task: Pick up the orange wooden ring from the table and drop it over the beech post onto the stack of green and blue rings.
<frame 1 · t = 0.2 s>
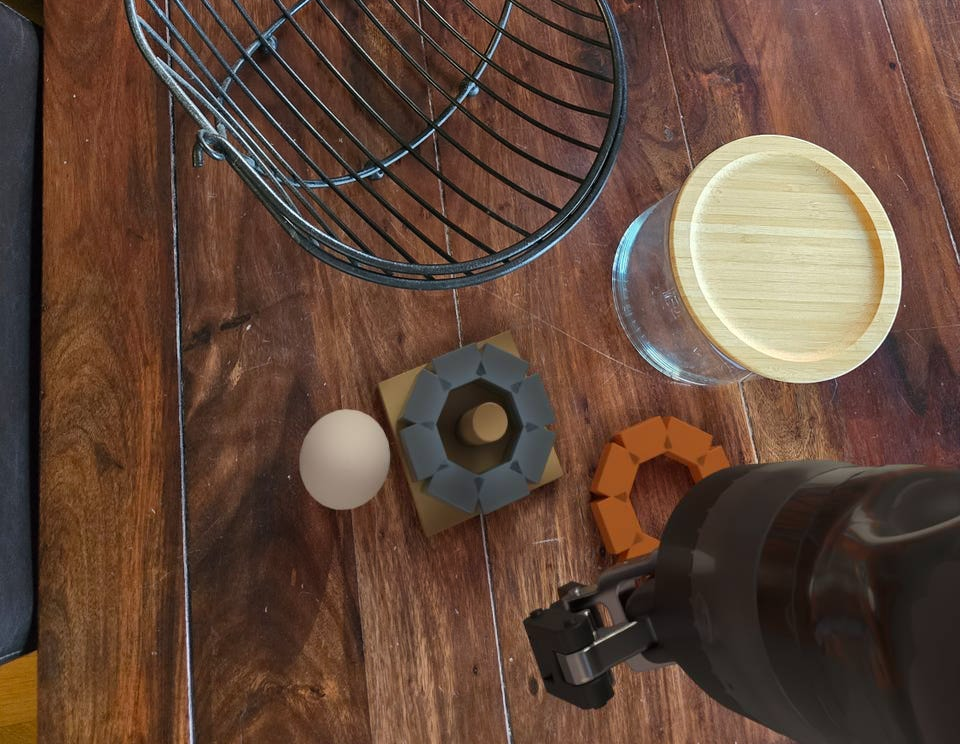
hand: (661, 567, 50), 23 cm above the table, tool pointing down, fingers open, 8 cm apart
egg: (342, 460, 70), on the table
ring stack: (467, 430, 72), on the table
orange ring: (661, 498, 72), on the table
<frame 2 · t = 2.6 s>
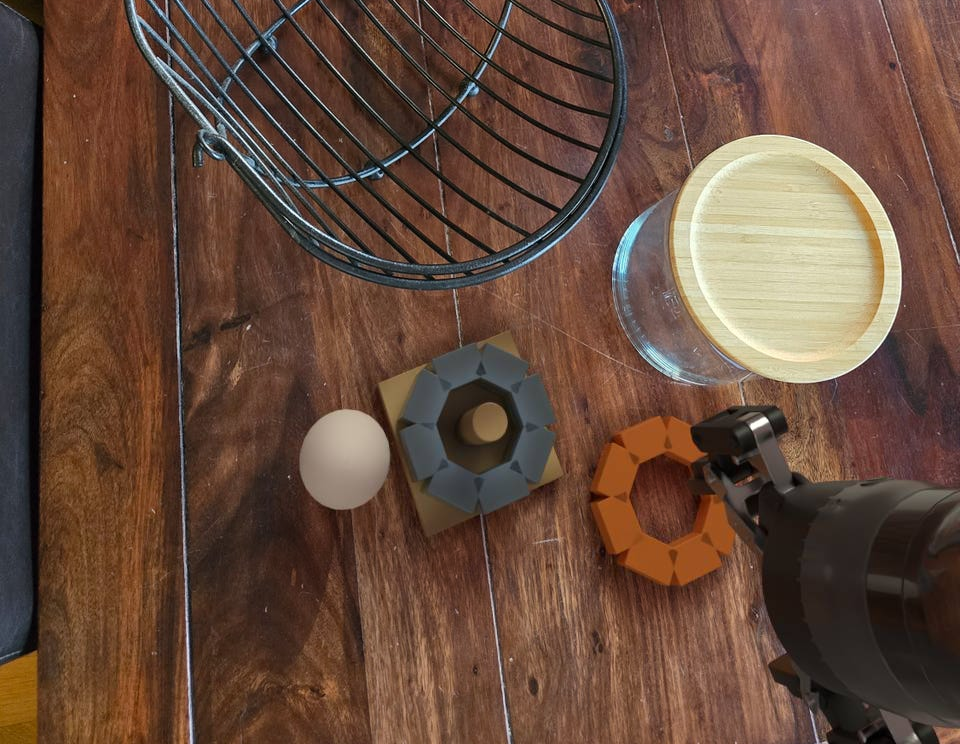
hand: (745, 568, 57), 15 cm above the table, tool pointing down, fingers open, 8 cm apart
nothing on the table moved.
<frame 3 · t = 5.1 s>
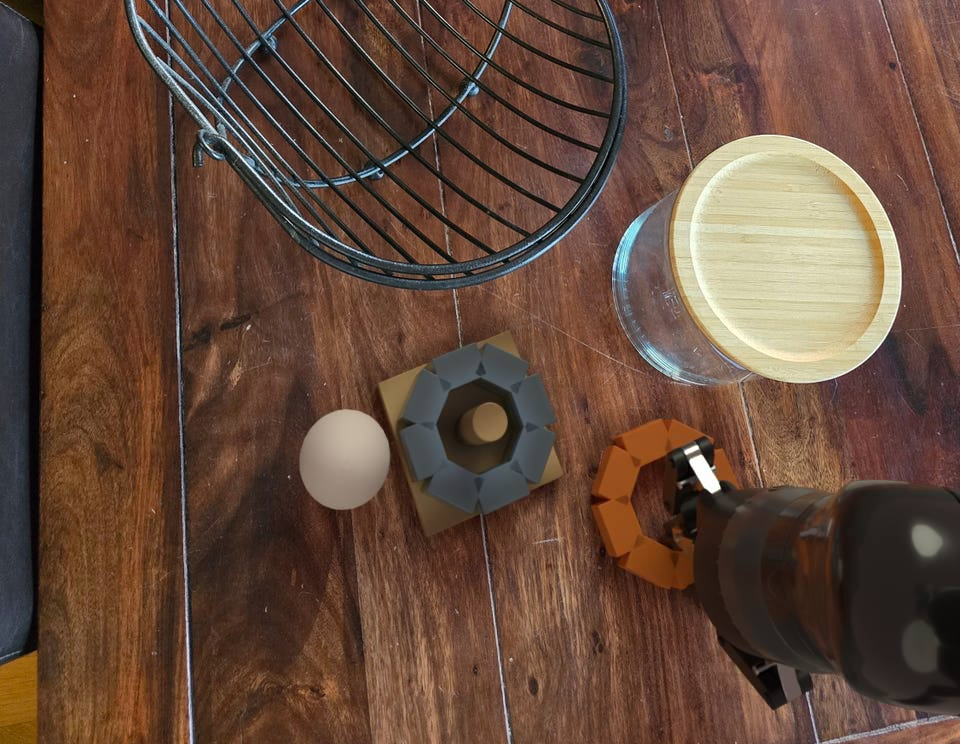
hand: (685, 559, 70), 0 cm above the table, tool pointing down, fingers closed on orange ring, 2 cm apart
orange ring: (662, 501, 71), on the table, touching gripper
everything else where it was.
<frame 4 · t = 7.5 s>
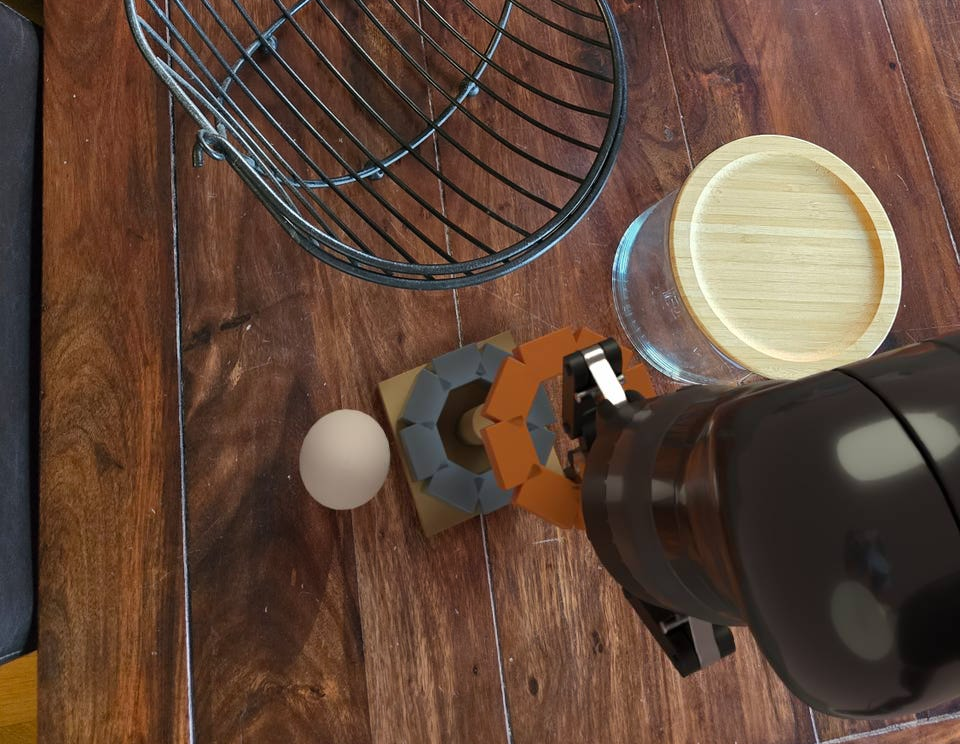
hand: (593, 496, 57), 15 cm above the table, tool pointing down, fingers closed on orange ring
orange ring: (568, 426, 58), point 15 cm above the table, touching gripper
everything else where it was.
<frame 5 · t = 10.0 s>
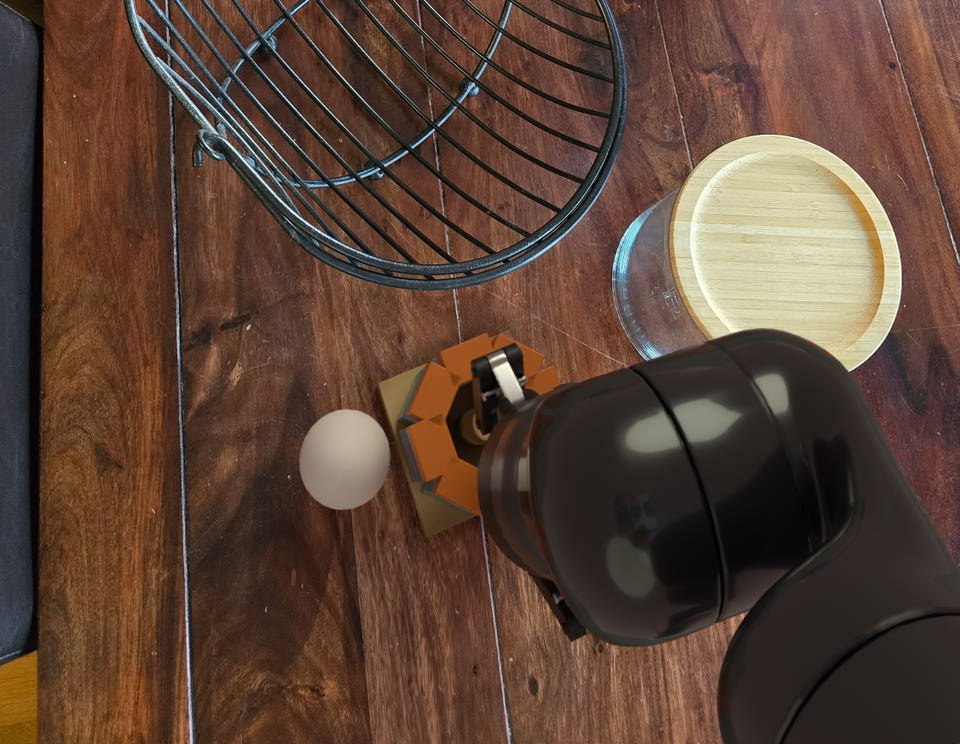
hand: (509, 486, 63), 8 cm above the table, tool pointing down, fingers closed on orange ring
orange ring: (486, 423, 65), point 8 cm above the table, touching gripper
everything else where it was.
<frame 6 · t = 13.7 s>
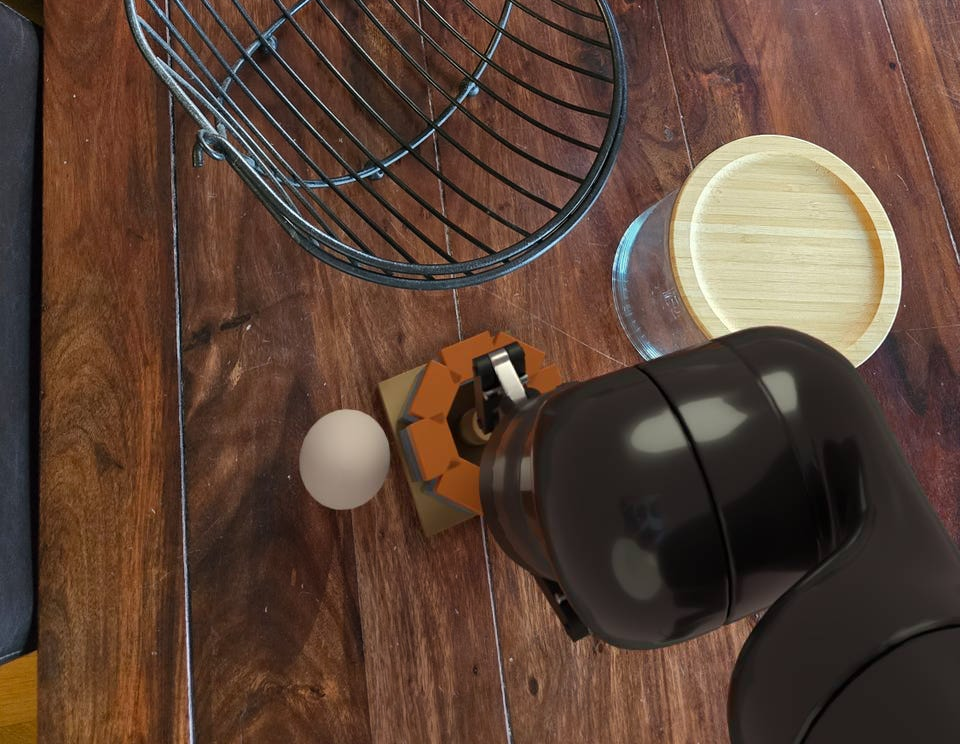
hand: (510, 485, 63), 9 cm above the table, tool pointing down, fingers closed on orange ring
orange ring: (487, 422, 64), point 8 cm above the table, touching gripper
everything else where it was.
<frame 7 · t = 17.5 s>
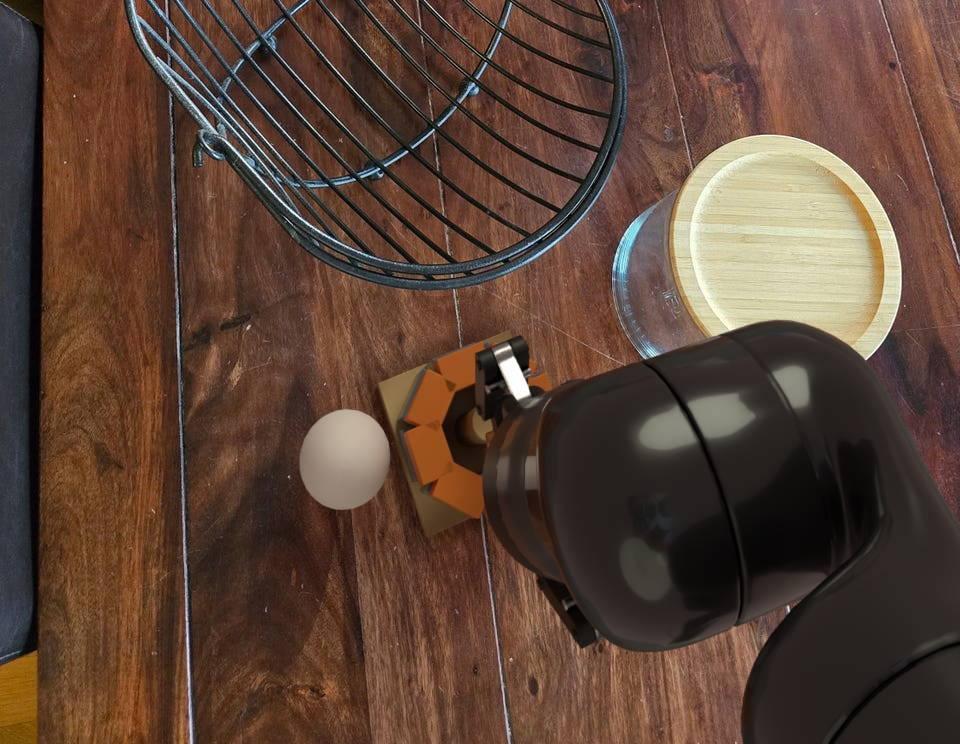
hand: (514, 485, 62), 9 cm above the table, tool pointing down, fingers open, 3 cm apart
orange ring: (481, 429, 67), point 5 cm above the table, touching ring stack
everything else where it was.
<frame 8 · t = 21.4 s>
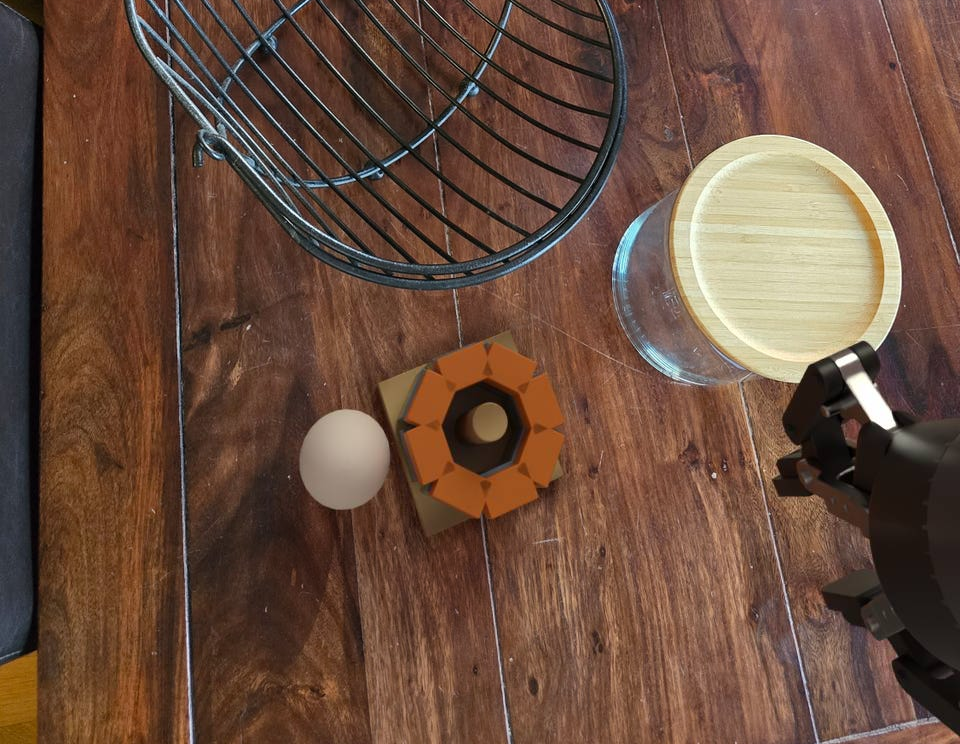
hand: (818, 532, 49), 25 cm above the table, tool pointing down, fingers open, 4 cm apart
nothing on the table moved.
at the end: orange ring 0.2 cm off-centre on the ring stack, point 5.2 cm above the ring stack's base; orange ring tilted 0°; the gripper is holding nothing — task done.
